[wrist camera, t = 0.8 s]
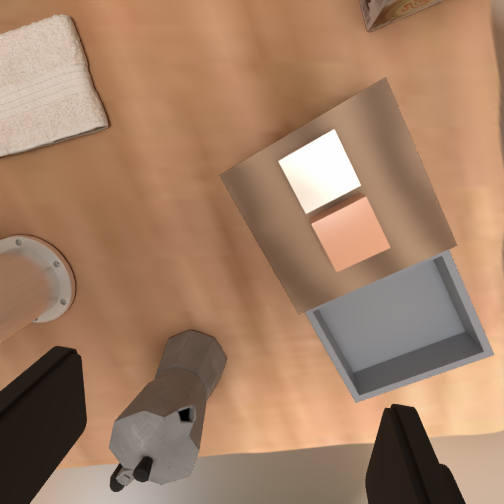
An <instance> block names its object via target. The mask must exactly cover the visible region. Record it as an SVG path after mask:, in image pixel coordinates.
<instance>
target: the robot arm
mask: <svg viewBox="0 0 504 504" xmlns="http://www.w3.org/2000/svg"><path fill="white" fill-rule="evenodd" d="M74 297H75V280H74V276H73V273H72V271H71V269H70V266H69V264H68V263H67V261H66V260H65V258H64V257H63V256H62V255H61V254H60V253H59V252H58V251H57V250H56V249H55V248H54V247H53V246H51V245H50V244H48V243H47V242H45V241H43V240H41V239H39V238H36V237H33V236H28V235H14V236H10V237H7V238H4V239H1V240H0V343H1V342H3V341H4V340H6V339H7V338H9V337H10V336H12V335H13V334H14V333H16V332H17V331H19V330H20V329H22V328H23V327H25V326H26V325H28V324H29V323H31V322H37V323H43V322H49V321H52V320H54V319H57V318H58V317H60V316H61V315H62V314H64V313H65V312H66V311H67V310H68V309H69V307H70V306H71V304H72V302H73V300H74ZM86 423H87V416H86V404H85V393H84V382H83V371H82V359H81V356H80V355H79V354H78V353H77V351H76V349H73V348H67V347H61V346H55V347H54V348H52V349H51V350H50V351H48V352H47V353H46V354H45V355H44V356H42V357H41V358H40V359H39V360H38V361H36V362H35V363H34V364H33V365H32V366H30V367H29V368H28V369H27V370H26V371H24V372H23V373H22V374H21V375H20V376H18V377H17V378H16V379H15V380H14V381H12V382H11V383H10V384H9V385H8V386H6V387H5V388H4V389H3V390H2V391H0V504H30V502H31V501H32V500H33V498H34V497H35V496H36V494H37V493H38V492H39V490H40V489H41V488H42V486H43V485H44V484H45V482H46V481H47V480H48V478H49V477H50V475H51V474H52V473H53V472H54V470H55V469H56V468H57V466H58V465H59V464H60V462H61V461H62V460H63V458H64V457H65V456H66V454H67V453H68V452H69V450H70V449H71V448H72V446H73V445H74V444H75V442H76V441H77V440H78V438H79V437H80V436H81V434H82V433H83V431H84V429H85V427H86ZM365 482H366V483H365V484H366V493H367V498H368V504H466V503H465V501H464V499H463V497H462V494H461V492H460V490H459V488H458V486H457V483H456V481H455V479H454V477H453V475H452V473H451V471H450V469H449V468H448V467H447V466H446V465H443V464H439V462H438V459H437V457H436V455H435V452H434V450H433V448H432V445H431V443H430V441H429V438H428V436H427V434H426V431H425V429H424V427H423V424H422V422H421V420H420V417H419V415H418V413H417V411H416V409H415V408H414V407H410V406H404V405H399V404H392V405H391V408H385V409H384V412H383V415H382V419H381V422H380V426H379V430H378V433H377V437H376V440H375V444H374V448H373V451H372V455H371V458H370V462H369V466H368V469H367V473H366V479H365Z"/></svg>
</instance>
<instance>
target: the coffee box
mask: <svg viewBox="0 0 504 504" xmlns="http://www.w3.org/2000/svg"><path fill="white" fill-rule="evenodd" d="M442 1H444V0H359V2H360V6H361V10H362V13H363V17H364V21H365V24H366V28H367V31H368V32H372V31H374V30H377V29H379V28H382V27H384V26H386V25H388V24H391V23H393V22H395V21H398V20H400V19H402V18H405V17H407V16H409V15H412V14H414V13H416V12H419V11H421V10H423V9H425V8H428V7H430V6H432V5H435V4H437V3H439V2H442Z"/></svg>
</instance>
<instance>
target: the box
mask: <svg viewBox="0 0 504 504" xmlns="http://www.w3.org/2000/svg"><path fill="white" fill-rule="evenodd" d="M305 314H306V316H307V317H308V319H309V321H310V323H311V324H312V326H313V328H314V330H315V332H316V333H317V335H318V337H319V339H320V340H321V342H322V344H323V346H324V347H325V349H326V351H327V353H328V355H329V356H330V358H331V360H332V362H333V363H334V365H335V367H336V369H337V370H338V372H339V374H340V376H341V377H342V379H343V381H344V383H345V385H346V386H347V388H348V390H349V392H350V393H351V395H352V397H353V399H354V400H355V402H356V403H357V402H360V401H363V400H365V399H368V398H371V397H374V396H377V395H380V394H383V393H386V392H389V391H391V390H394V389H397V388H400V387H403V386H406V385H409V384H412V383H415V382H417V381H420V380H423V379H426V378H429V377H432V376H435V375H438V374H441V373H443V372H446V371H449V370H452V369H455V368H458V367H461V366H464V365H467V364H469V363H472V362H475V361H478V360H481V359H484V358H487V357H490V356H493V355H494V353H493V351H492V348H491V346H490V344H489V341H488V339H487V337H486V334H485V332H484V330H483V327H482V325H481V323H480V320H479V318H478V316H477V314H476V311H475V309H474V307H473V304H472V302H471V300H470V297H469V295H468V293H467V290H466V288H465V286H464V283H463V281H462V279H461V276H460V274H459V272H458V270H457V267H456V265H455V263H454V260H453V258H452V256H451V253H450V251H449V249H448V250H446V251H444V252H442V253H439V254H437V255H435V256H432V257H430V258H428V259H425V260H423V261H421V262H419V263H416V264H414V265H412V266H409V267H407V268H405V269H402V270H400V271H398V272H396V273H393V274H391V275H389V276H386V277H384V278H382V279H380V280H377V281H375V282H373V283H370V284H368V285H366V286H363V287H361V288H359V289H357V290H354V291H352V292H350V293H347V294H345V295H343V296H340V297H338V298H336V299H334V300H331V301H329V302H327V303H324V304H322V305H320V306H318V307H315V308H313V309H311V310H308V311H306V312H305Z"/></svg>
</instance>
